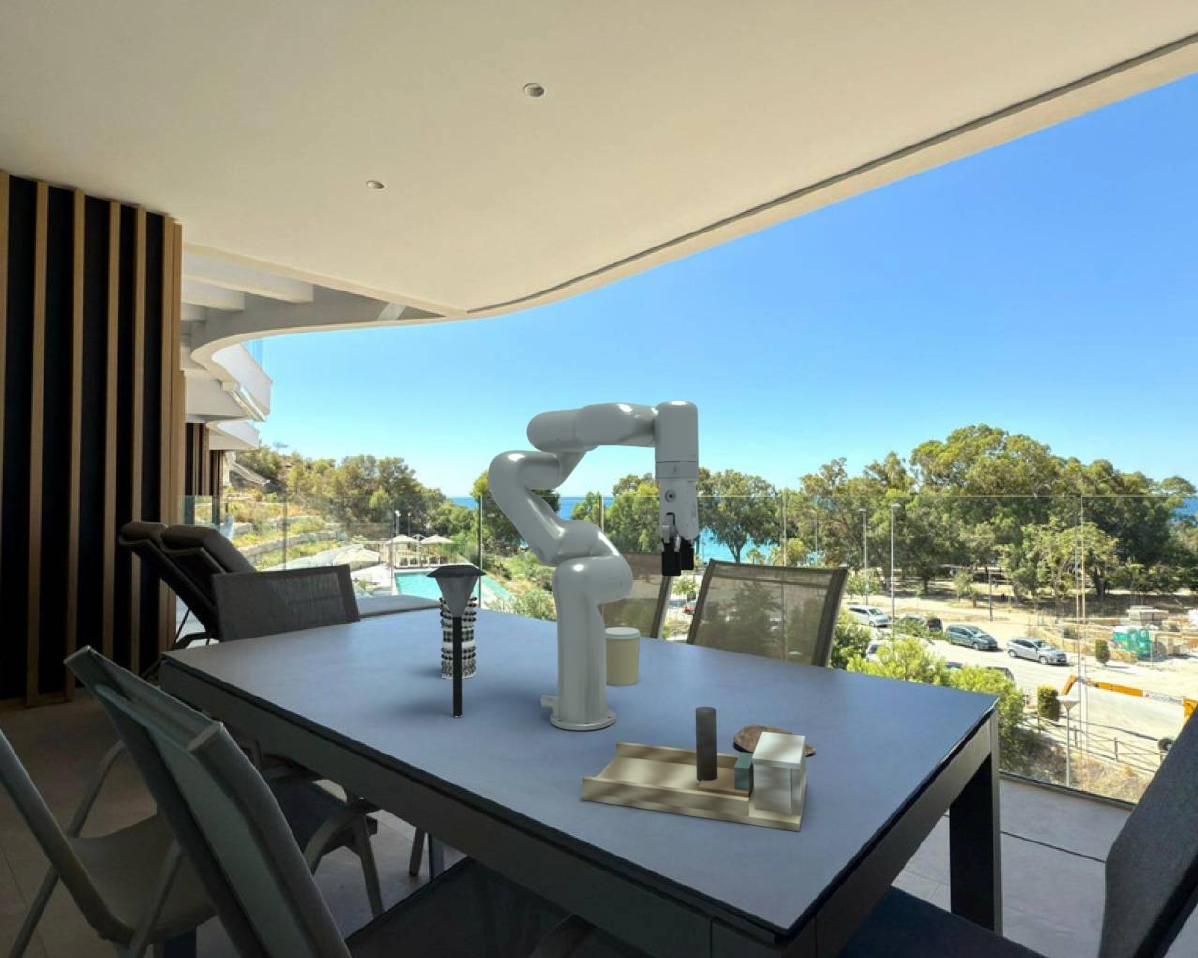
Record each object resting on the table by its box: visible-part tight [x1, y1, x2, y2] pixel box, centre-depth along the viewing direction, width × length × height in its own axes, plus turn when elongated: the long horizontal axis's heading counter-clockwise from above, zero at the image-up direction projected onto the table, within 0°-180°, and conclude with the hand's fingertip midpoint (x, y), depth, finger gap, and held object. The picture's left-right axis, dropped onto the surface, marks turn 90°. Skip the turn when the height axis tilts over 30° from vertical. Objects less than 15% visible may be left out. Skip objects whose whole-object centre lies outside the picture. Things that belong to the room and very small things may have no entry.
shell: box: [732, 723, 816, 758], centre depth 119 cm, size 12×13×4 cm
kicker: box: [695, 706, 754, 798], centre depth 101 cm, size 8×8×11 cm
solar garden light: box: [425, 564, 488, 716], centre depth 139 cm, size 12×12×30 cm
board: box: [581, 732, 808, 832], centre depth 102 cm, size 30×16×8 cm, turn 70°
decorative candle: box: [438, 589, 478, 679], centre depth 171 cm, size 9×9×25 cm
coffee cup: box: [606, 626, 642, 687], centre depth 164 cm, size 9×9×12 cm
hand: (678, 572), depth 119 cm, fingers open, 9 cm apart
